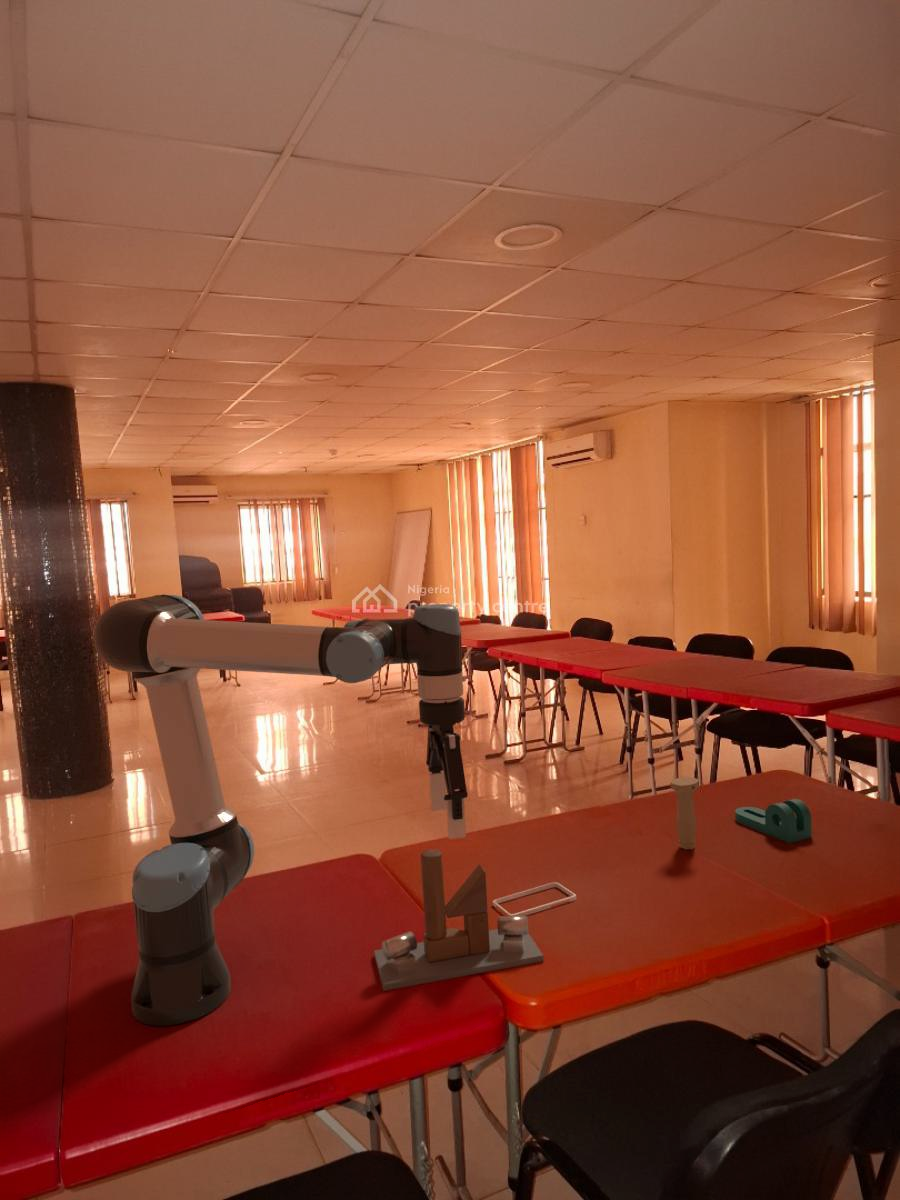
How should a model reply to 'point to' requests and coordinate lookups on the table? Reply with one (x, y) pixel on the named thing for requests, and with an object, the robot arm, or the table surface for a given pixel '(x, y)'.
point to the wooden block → (453, 912)
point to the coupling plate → (457, 963)
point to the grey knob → (513, 932)
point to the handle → (685, 810)
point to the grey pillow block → (400, 952)
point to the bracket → (779, 820)
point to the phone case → (530, 891)
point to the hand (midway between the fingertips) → (447, 822)
